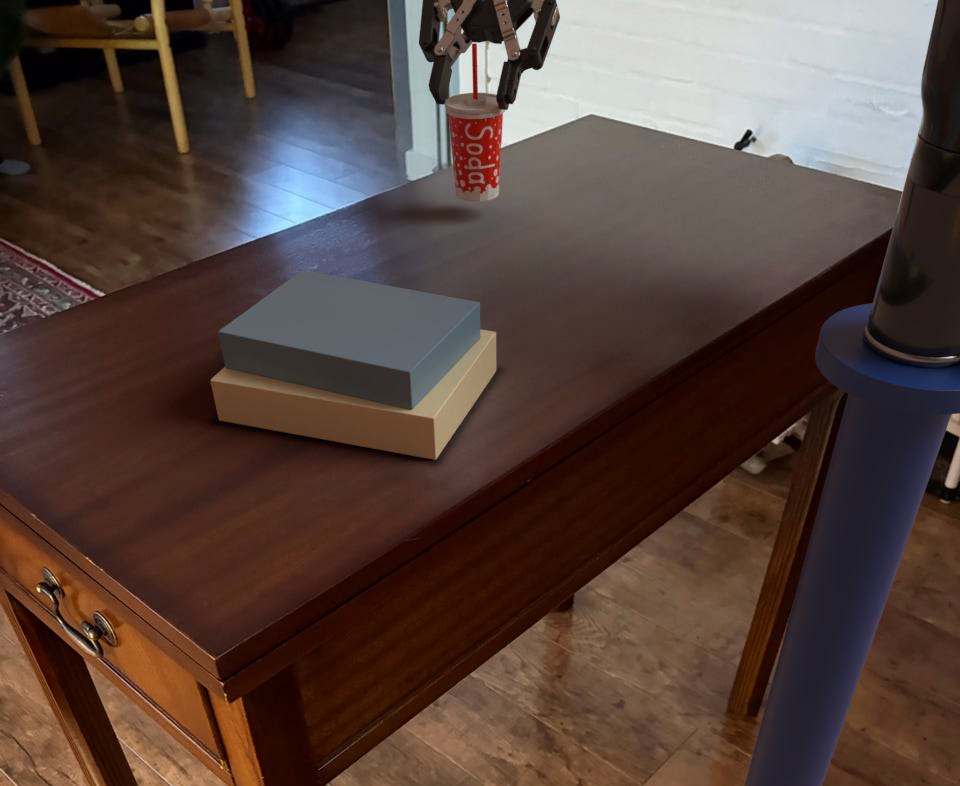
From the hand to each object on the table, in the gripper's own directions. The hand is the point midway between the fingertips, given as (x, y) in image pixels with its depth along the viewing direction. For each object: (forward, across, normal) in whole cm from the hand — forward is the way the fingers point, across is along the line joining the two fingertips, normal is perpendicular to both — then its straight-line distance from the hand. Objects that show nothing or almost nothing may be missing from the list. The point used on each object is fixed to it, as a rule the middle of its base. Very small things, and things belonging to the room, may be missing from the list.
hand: (469, 102), depth 99 cm
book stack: (+34, +4, -18) cm, 39 cm away
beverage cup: (+5, 0, +8) cm, 10 cm away
